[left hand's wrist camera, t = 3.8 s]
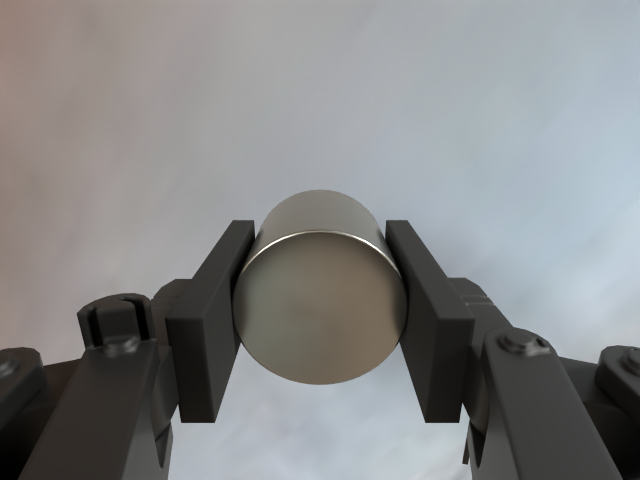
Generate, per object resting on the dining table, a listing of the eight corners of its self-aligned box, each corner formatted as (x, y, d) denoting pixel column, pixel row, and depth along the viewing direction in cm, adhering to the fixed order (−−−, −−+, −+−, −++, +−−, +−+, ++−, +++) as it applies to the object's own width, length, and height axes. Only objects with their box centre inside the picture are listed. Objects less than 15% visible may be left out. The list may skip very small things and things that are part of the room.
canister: (245, 198, 14) (212, 242, 10) (378, 181, 14) (404, 218, 9) (268, 313, 15) (249, 394, 11) (387, 300, 15) (413, 376, 11)
